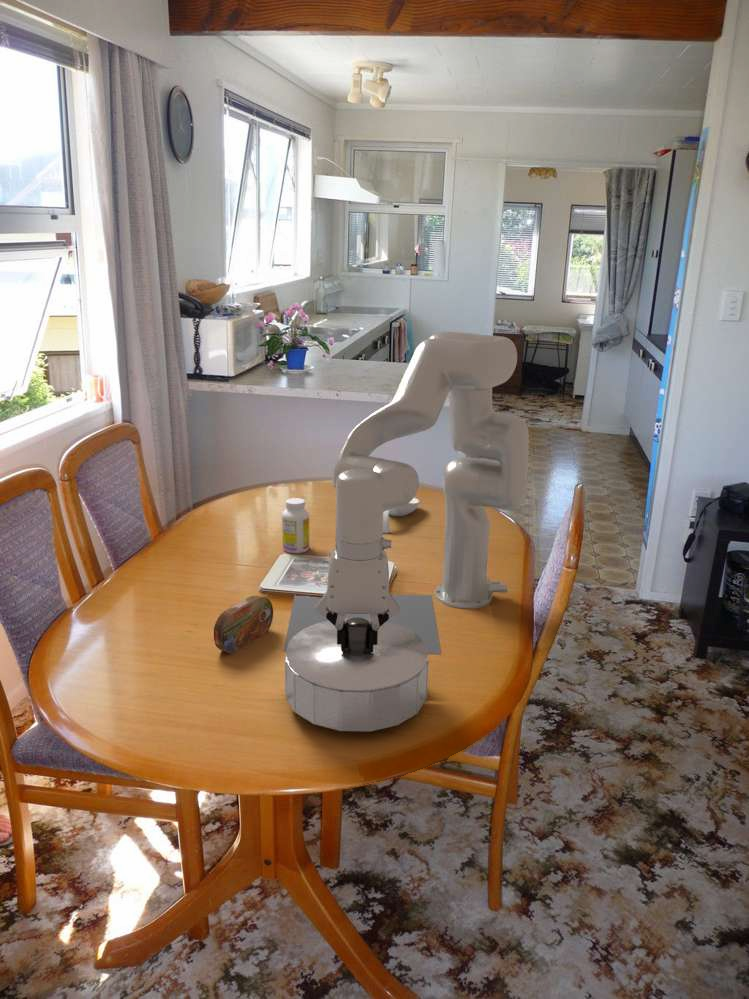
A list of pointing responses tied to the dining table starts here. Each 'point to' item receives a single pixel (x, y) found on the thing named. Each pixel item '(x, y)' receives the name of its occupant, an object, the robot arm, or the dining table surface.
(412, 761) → the dining table surface
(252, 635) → the tin
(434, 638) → the rubber mat
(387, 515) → the spoon rest
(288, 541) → the supplement bottle
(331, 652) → the lidded metal pot
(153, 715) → the dining table surface
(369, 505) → the robot arm
